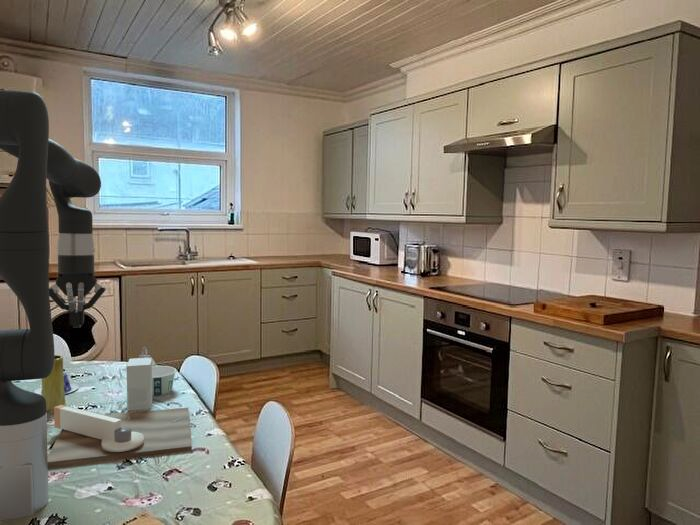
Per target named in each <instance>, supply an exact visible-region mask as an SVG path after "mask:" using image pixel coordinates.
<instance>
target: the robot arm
mask: <svg viewBox="0 0 700 525" xmlns="http://www.w3.org/2000/svg"><path fill="white" fill-rule="evenodd" d="M49 134H50V120H49V112H48V107H47V103H46V102H45V100H44V98H43V97H42V96H41V95H40V94H39V93H37V92H34V91H29V90H27V91H26V90H14V89H13V90H12V89H11V90H10V89H0V150H1V151H3V152H4V153H7V154H9V155H11V156H13V157H15V158H17V164H16V169H15V172H14V175H13V177H12V179H11V181H10V182H9V184H8V185H7V187H6V189H5V190H4V191H3V193H2V194H1V196H0V277H1V278H2V280H3V281H4V282H5V284H6V285H7V286H8V287H9V289H10V290H11V291H12V292H13V294H14V295H15V296H16V298H18V299H17V300H18V301H19V302H20V303H21V305H22V306H23V307H22V308H23V309H24V312H25V314H26V317H27V321H28V325H29V328H20V329H18V328H16V329H0V521H6V520H8V521H9V520H14V519H21V518H27V517H33V516H34V515H35V513H37V512H39V511H40V510H42V509H43V508H45V506H46V505H47V504H48V503H49V501H50V500H49V497H50V496H49V494H50V493H49V468H48V455H49V454H48V452H49V451H48V420H47V419H48V413H47V412H48V411H47V409H46V400H45V398H44V397H43V396H42V395H40V394H37V393H34V391H32V392H31V391H29V390H25V389H22V388H21V387H18V386H17V385H15V384H14V383H13V382H15V381H17V382H18V381H27V380H28V381H29V380H42V378H46V377H48V376H49V375H50V374H51V372H52V369H53V365H54V356H55V355H56V354H55V338H54V337H55V336H54V330H53V321H52V311H51V300H53V302H54V303H56V305H57V306H58V307H59V308H60V309H61V310H66V311H67V312H68V313H69V326H72V328H73V329H75V328H82V325H84V322H85V311H86V310H90V309H91V308H92V307H93V306H94V305H95V304H96V302H97V301H98V300H99V299H100V298H101V297H102V295H104V293H105V292H106V290H107V287H106V286H103V285H101V284H99V283H98V280H97V278H96V276H95V241H94V235H93V230H94V228H93V227H94V226H93V213H92V210H90V209H88V208H84V207H79V206H76V205H74V204H73V202H72V200H71V198H84V199H85V198H93V197H95V196H96V195H97V194H99V192H100V191H101V189H102V188H101V187H102V181H101V176H100V174H99V173H98V171H97V170H96V169H95V168H94V167H93V166H91V165H90V164H88V163H86V162H84V161H82V160H80V159H78V158H74V156H73V155H72V154H71V153H70V152H69V151H68V150H67V149H66V148H65V147H64V146H62V145H61V144H59V143H57V142H56V141H54V140H52V139H51V138H49V137H50V135H49ZM47 180H48V184H49V188H50V191H51V196H52V198H53V200H54V204H55V207H56V212H57V217H58V218H57V221H58V238H57V278H56V279H55V284H53V285H52V286H50V238H49V236H50V235H49V234H50V232H49V221H48V220H49V219H48V216H49V215H48V201H47V200H48V199H47V195H48V194H47ZM93 289H94V290H93ZM92 290H93V293H94V295H93V296H92V297H91V298H90V300H89V301H88V302H87V303H86V298H87V296H88V294H90V292H91V291H92ZM60 291H61V292H62V293H63V294H64V295H65V296H66V297H67V301H66V300H65V299H64V298H63V297H62V295H60V294H59V293H60ZM50 298H51V300H50Z"/></svg>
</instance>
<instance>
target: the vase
mask: <svg viewBox="0 0 700 525" xmlns="http://www.w3.org/2000/svg"><path fill="white" fill-rule="evenodd" d="M54 355H55V356H54V365H53V369H52V372H51V374H50V375H49V376H48V377H46V378H42V379H41V387H42V396H43V397H44V398H45V400H46V409H47V411H46V412H51V411H53V412H54V407H56V406H59V405H64V406H67V405H66V396H65V395H66V394H64V376H63V373H64V357H63V355H60V354H59V355H58V354H54Z"/></svg>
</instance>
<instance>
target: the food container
mask: <svg viewBox="0 0 700 525" xmlns="http://www.w3.org/2000/svg"><path fill="white" fill-rule="evenodd" d="M176 372H177V369H176V368H175V367H173V366H168V365H156V366H152V397H155V396H157V395H158V396H163V395H167V394H169V393H171V392H172V391H173V388H174V387H173V385H174V382H175V381H174V380H175V374H176ZM170 391H171V392H170ZM166 393H167V394H166ZM158 396H157V397H158Z"/></svg>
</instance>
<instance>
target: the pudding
mask: <svg viewBox="0 0 700 525" xmlns="http://www.w3.org/2000/svg"><path fill="white" fill-rule="evenodd" d="M63 376H64V394H65V395H66V394H70V393H72V392H74V391H76V390H78V389H79V385H78V384H75V383H71V382H70V379H69V377H68V374H67V373H65V372H63ZM33 393H37V394H40V395H42V386H41V387H38V388H36V389H35V390H34V391H33Z"/></svg>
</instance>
